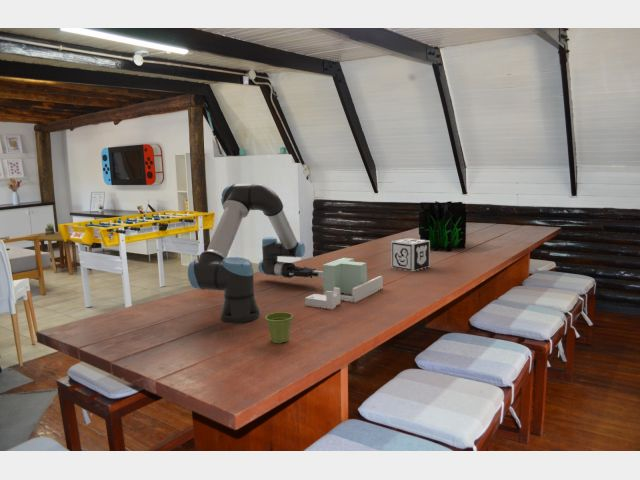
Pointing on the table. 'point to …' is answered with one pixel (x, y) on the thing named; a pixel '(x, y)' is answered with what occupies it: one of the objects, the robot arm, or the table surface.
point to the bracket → (324, 299)
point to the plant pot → (279, 326)
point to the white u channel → (364, 290)
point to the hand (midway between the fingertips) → (324, 274)
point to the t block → (344, 275)
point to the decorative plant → (443, 225)
